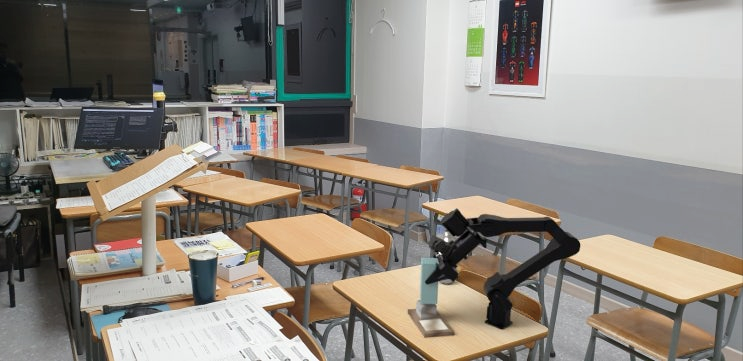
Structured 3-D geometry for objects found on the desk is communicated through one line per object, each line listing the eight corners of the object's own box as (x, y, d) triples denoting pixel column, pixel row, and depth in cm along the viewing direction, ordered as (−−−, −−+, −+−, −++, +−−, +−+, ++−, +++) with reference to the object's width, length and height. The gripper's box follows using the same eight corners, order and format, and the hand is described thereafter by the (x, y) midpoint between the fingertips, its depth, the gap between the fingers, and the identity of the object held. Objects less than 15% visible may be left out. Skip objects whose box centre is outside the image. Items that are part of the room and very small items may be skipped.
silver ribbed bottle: (433, 280, 200) (436, 229, 196) (449, 278, 202) (452, 227, 198) (441, 286, 194) (444, 234, 190) (457, 284, 196) (461, 232, 193)
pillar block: (435, 297, 167) (437, 258, 164) (437, 304, 162) (439, 264, 159) (419, 296, 167) (421, 257, 164) (420, 303, 162) (422, 263, 159)
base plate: (433, 310, 173) (434, 295, 172) (453, 335, 157) (454, 318, 156) (407, 312, 171) (408, 297, 170) (424, 337, 155) (425, 320, 154)
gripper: (441, 220, 169) (405, 252, 171) (448, 237, 151) (408, 272, 153) (464, 244, 171) (428, 276, 173) (474, 264, 152) (434, 299, 154)
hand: (424, 280), depth 163 cm, fingers closed on pillar block, 5 cm apart
